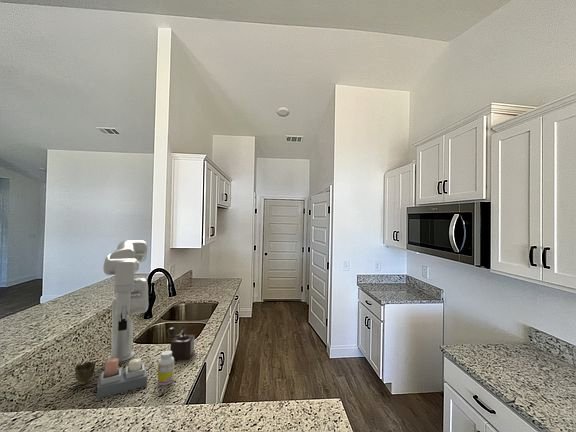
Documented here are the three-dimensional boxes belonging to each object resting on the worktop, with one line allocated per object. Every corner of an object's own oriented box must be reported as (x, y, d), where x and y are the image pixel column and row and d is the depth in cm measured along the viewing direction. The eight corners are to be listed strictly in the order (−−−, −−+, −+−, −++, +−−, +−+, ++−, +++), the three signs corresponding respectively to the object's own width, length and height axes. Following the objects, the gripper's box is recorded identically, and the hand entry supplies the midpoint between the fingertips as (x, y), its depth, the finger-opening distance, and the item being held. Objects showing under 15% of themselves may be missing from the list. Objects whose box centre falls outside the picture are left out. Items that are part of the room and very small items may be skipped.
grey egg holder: (99, 384, 119) (99, 370, 119) (144, 373, 128) (145, 360, 129) (96, 398, 109) (97, 383, 109) (146, 385, 118) (147, 371, 118)
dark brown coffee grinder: (174, 351, 151) (175, 319, 152) (194, 351, 152) (195, 318, 154) (164, 365, 136) (165, 329, 137) (187, 364, 137) (188, 328, 138)
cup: (92, 377, 124) (92, 359, 125) (97, 382, 120) (98, 364, 120) (71, 384, 119) (72, 365, 119) (76, 390, 114) (77, 371, 114)
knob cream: (128, 371, 122) (129, 360, 122) (140, 368, 124) (141, 357, 125) (128, 376, 118) (129, 364, 118) (141, 373, 120) (141, 361, 121)
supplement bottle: (162, 377, 125) (163, 349, 125) (176, 377, 124) (177, 349, 125) (154, 385, 118) (155, 355, 119) (169, 386, 118) (170, 356, 118)
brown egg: (105, 371, 117) (105, 359, 117) (118, 368, 120) (118, 357, 120) (104, 376, 113) (105, 364, 113) (117, 373, 116) (118, 361, 116)
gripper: (113, 286, 124) (111, 326, 123) (114, 292, 112) (112, 337, 111) (132, 284, 129) (130, 323, 127) (135, 290, 116) (133, 333, 115)
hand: (122, 329), depth 119 cm, fingers closed
